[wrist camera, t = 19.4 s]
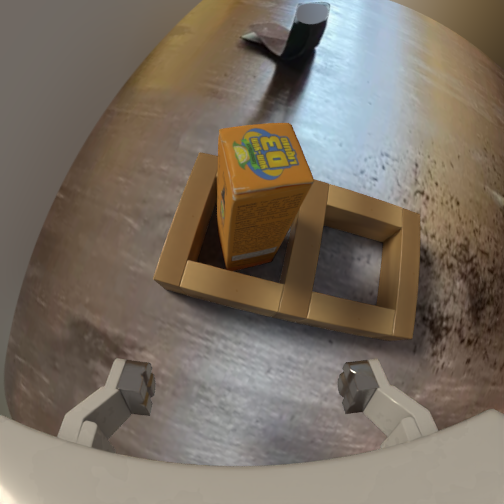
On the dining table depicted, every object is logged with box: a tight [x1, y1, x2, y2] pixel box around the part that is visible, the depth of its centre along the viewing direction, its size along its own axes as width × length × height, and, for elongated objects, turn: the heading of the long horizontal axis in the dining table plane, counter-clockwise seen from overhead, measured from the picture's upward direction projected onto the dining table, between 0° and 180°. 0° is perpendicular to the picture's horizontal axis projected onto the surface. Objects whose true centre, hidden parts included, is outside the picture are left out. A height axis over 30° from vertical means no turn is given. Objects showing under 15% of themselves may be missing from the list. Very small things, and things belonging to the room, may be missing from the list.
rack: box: [153, 153, 420, 341], centre depth 18 cm, size 16×9×3 cm, turn 76°
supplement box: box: [217, 123, 314, 271], centre depth 15 cm, size 3×3×10 cm
